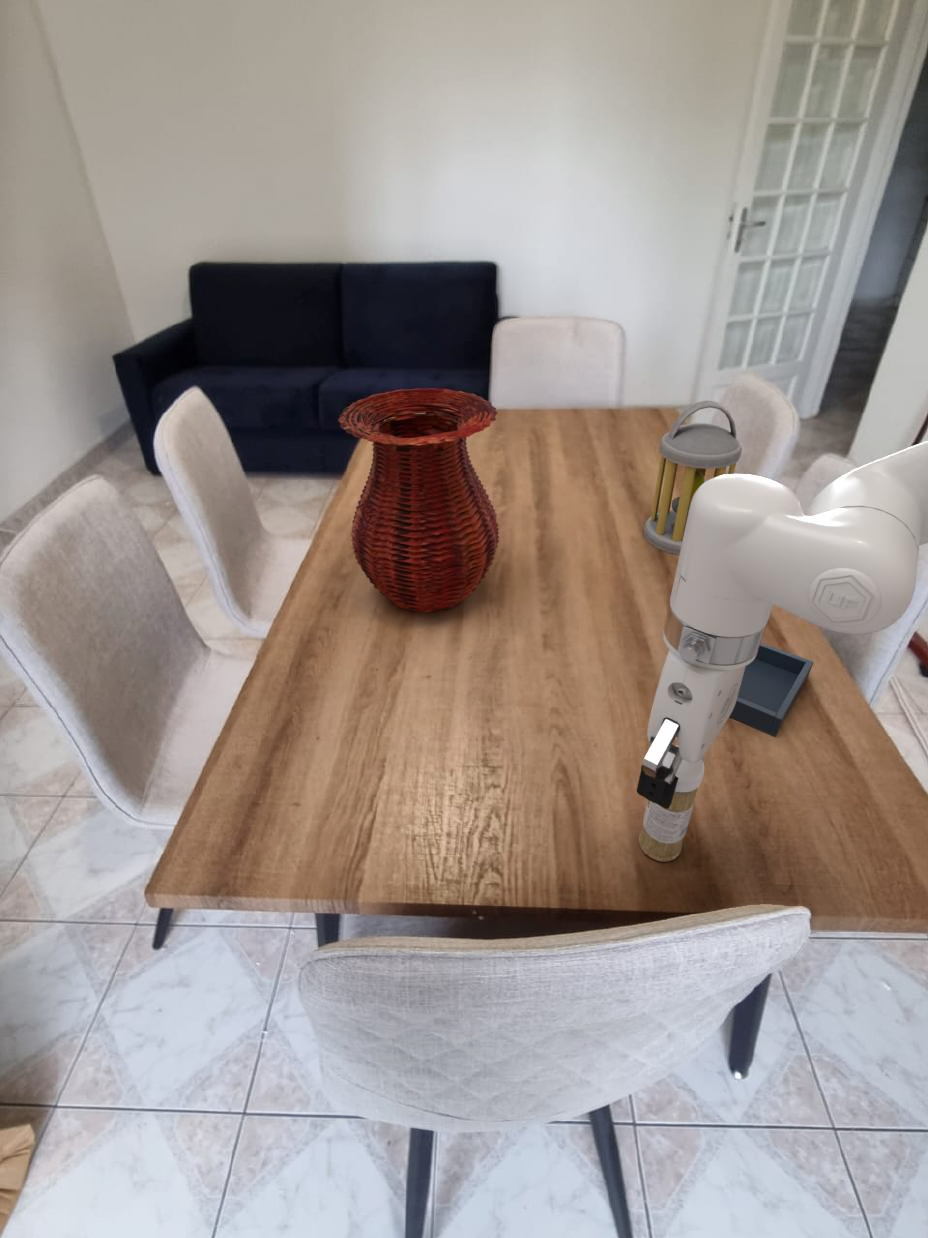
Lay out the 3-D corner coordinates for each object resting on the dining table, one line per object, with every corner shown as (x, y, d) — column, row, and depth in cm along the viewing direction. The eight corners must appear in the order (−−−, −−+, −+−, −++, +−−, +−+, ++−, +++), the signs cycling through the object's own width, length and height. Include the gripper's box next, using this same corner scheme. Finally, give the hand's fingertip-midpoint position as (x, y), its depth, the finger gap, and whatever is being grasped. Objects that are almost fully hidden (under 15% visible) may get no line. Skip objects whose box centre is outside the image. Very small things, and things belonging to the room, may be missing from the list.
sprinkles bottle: (655, 820, 75) (675, 736, 67) (690, 847, 72) (715, 763, 64) (628, 843, 73) (646, 759, 65) (663, 872, 70) (686, 788, 62)
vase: (350, 563, 120) (326, 394, 102) (478, 544, 124) (476, 379, 106) (368, 642, 102) (343, 453, 84) (517, 616, 106) (523, 432, 88)
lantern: (711, 517, 130) (740, 387, 115) (732, 555, 119) (767, 416, 104) (637, 517, 131) (656, 388, 116) (651, 555, 120) (674, 417, 105)
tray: (807, 678, 93) (813, 661, 91) (775, 737, 84) (781, 719, 83) (698, 637, 101) (702, 620, 99) (659, 687, 92) (662, 669, 90)
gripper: (717, 706, 48) (674, 849, 58) (793, 594, 58) (745, 731, 69) (621, 664, 51) (597, 806, 62) (709, 566, 62) (675, 700, 72)
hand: (675, 766), depth 65 cm, fingers open, 9 cm apart
